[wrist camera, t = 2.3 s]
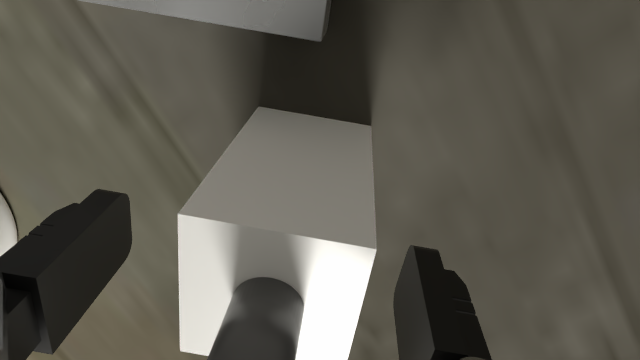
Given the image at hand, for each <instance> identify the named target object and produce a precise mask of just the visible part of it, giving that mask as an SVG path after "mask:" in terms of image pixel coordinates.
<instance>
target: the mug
mask: <svg viewBox="0 0 640 360" xmlns="http://www.w3.org/2000/svg"><path fill="white" fill-rule="evenodd" d="M16 243H17V229H16V224H15V221H14V218H13V215H12V213H11V210H10V208H9V206H8V204H7V202H6V201H5V199H4V197H3V196H2V194H1V193H0V256H2V255H3V254H4V253H5V252H7V251H8V250H9V249H10V248H11V247H13V246H14V245H15V244H16Z"/></svg>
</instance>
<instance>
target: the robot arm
mask: <svg viewBox="0 0 640 360" xmlns="http://www.w3.org/2000/svg"><path fill="white" fill-rule="evenodd" d="M131 244H132V231H131V216H130V201H129V197H128V195H127V194H124V193H119V192H113V191H107V190H102V189H97V190H95V191H94V192H92V193H91V194H90V195H89V196H88V197H87V198H86V199H84V200H83V201H82V202H81V203H80V204H77V203H73V204H71V205H69V206H66V207H64V208H62V209H60V210H57V211H55V212H54V213H52V214H51V215H50V216H49V217H48V218H46V219H45V220H44V221H43V222H42V223H41V224H40V226H37V227H36V228H34V229H33V230H32V231H31V232H29V235H28V236H25V237H23V238H22V239H21V240H20V241H19V242H17V243H16V244H15V245H14V246H13V247H11V248H10V249H9V250H8V251H7V252H5V253H4V254H3V255H2V256H0V360H26V359H27V357H28V356H29V355H30V354H31V353H32V351H35V352H41V353H47V354H52V355H53V353H54V352H55V351H56V349H57V348H58V347H59V346H60V344H61V343H62V342H63V340H64V339H65V338H66V336H67V335H68V334H69V333H70V331H71V330H72V329H73V327H74V326H75V325H76V324H77V322H78V321H79V320H80V318H81V317H82V316H83V314H84V313H85V312H86V311H87V309H88V308H89V307H90V305H91V304H92V303H93V302H94V300H95V299H96V298H97V296H98V295H99V294H100V292H101V291H102V290H103V289H104V287H105V286H106V285H107V283H108V282H109V281H110V280H111V278H112V277H113V276H114V274H115V273H116V272H117V270H118V269H119V268H120V267H121V265H122V264H123V263H124V261H125V260H126V258H127V257H128V254H129V252H130V249H131ZM394 316H395V325H396V334H397V343H398V352H399V360H492V359H491V356H490V353H489V350H488V347H487V344H486V342H485V339H484V336H483V333H482V330H481V327H480V324H479V321H478V318H477V316H475V310H474V307H473V304H472V303H471V298H470V295H469V292H468V289H467V287H466V285H465V283H464V282H463V281H462V280H461V279H460V277H459V276H458V275H457V274H456V273H455V271H451V270H445V269H444V267H443V264H442V261H441V257H440V254H439V251H438V250H435V249H430V248H424V247H418V246H413V245H411V246H410V247H409V249H408V251H407V254H406V257H405V260H404V263H403V266H402V269H401V272H400V275H399V278H398V281H397V285H396V288H395V293H394Z"/></svg>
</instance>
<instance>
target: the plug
mask: <svg viewBox="0 0 640 360" xmlns="http://www.w3.org/2000/svg"><path fill="white" fill-rule="evenodd" d="M376 250H377V246H376V223H375V201H374V179H373V157H372V134H371V126H368V125H363V124H357V123H351V122H345V121H340V120H334V119H328V118H322V117H317V116H311V115H305V114H299V113H294V112H288V111H282V110H276V109H271V108H265V107H259V106H258V108H257V109H256V110H255V112H254V113H253V114H252V116H251V117H250V118H249V120H248V121H247V122H246V124H245V125H244V126H243V128H242V129H241V130H240V132H239V133H238V134H237V136H236V137H235V138H234V140H233V141H232V142H231V144H230V145H229V146H228V148H227V149H226V150H225V152H224V153H223V154H222V156H221V157H220V158H219V160H218V161H217V162H216V164H215V165H214V166H213V168H212V169H211V170H210V172H209V173H208V174H207V176H206V177H205V178H204V180H203V181H202V182H201V184H200V185H199V186H198V188H197V189H196V190H195V192H194V193H193V194H192V196H191V197H190V198H189V200H188V201H187V202H186V204H185V205H184V206H183V208H182V209H181V210H180V212H179V213H178V257H179V318H180V351H184V352H189V353H195V354H200V355H205V356H208V359H207V360H347V359H348V356H349V352H350V348H351V344H352V340H353V337H354V333H355V329H356V325H357V322H358V318H359V314H360V310H361V307H362V303H363V299H364V295H365V291H366V288H367V284H368V280H369V276H370V273H371V269H372V265H373V261H374V257H375V254H376Z"/></svg>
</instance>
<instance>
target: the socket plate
mask: <svg viewBox="0 0 640 360" xmlns="http://www.w3.org/2000/svg"><path fill="white" fill-rule="evenodd" d="M80 1H85V2H91V3H97V4H103V5H109V6H115V7H120V8H126V9H132V10H138V11H144V12H150V13H155V14H161V15H167V16H173V17H179V18H185V19H191V20H196V21H202V22H208V23H214V24H220V25H226V26H231V27H237V28H243V29H249V30H255V31H261V32H267V33H272V34H278V35H284V36H290V37H296V38H302V39H307V40H313V41H319V42H321V41H322V39H323V37H324V35H325V34H326V32H327V29H328V23H329V16H330V9H331V2H332V0H80Z"/></svg>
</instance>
